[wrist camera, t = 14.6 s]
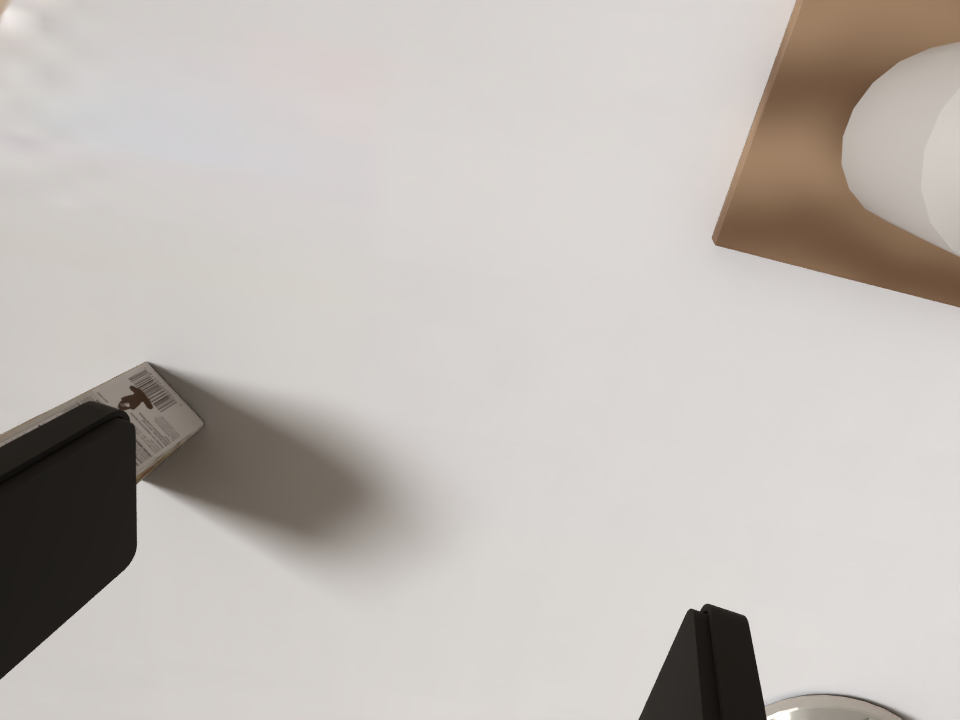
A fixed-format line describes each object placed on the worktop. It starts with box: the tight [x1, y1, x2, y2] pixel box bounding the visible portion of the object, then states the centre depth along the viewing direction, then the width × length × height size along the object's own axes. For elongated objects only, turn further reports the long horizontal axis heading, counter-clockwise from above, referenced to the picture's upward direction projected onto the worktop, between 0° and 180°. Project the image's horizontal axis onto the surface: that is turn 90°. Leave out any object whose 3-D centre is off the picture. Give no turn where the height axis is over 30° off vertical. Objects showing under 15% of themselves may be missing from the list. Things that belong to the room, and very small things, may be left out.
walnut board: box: [712, 0, 960, 307], centre depth 30 cm, size 14×14×2 cm
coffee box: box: [0, 362, 204, 484], centre depth 41 cm, size 9×6×16 cm
